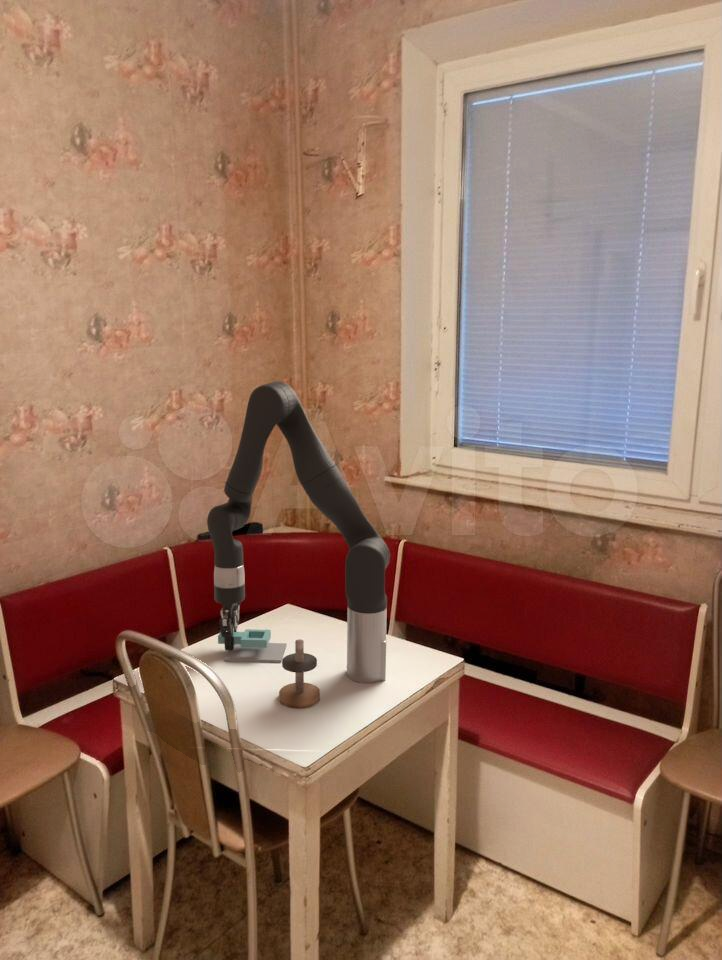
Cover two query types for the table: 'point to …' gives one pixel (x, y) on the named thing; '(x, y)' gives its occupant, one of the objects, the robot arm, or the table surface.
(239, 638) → the teal square frame paddle
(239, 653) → the mat
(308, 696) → the stand
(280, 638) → the table surface
